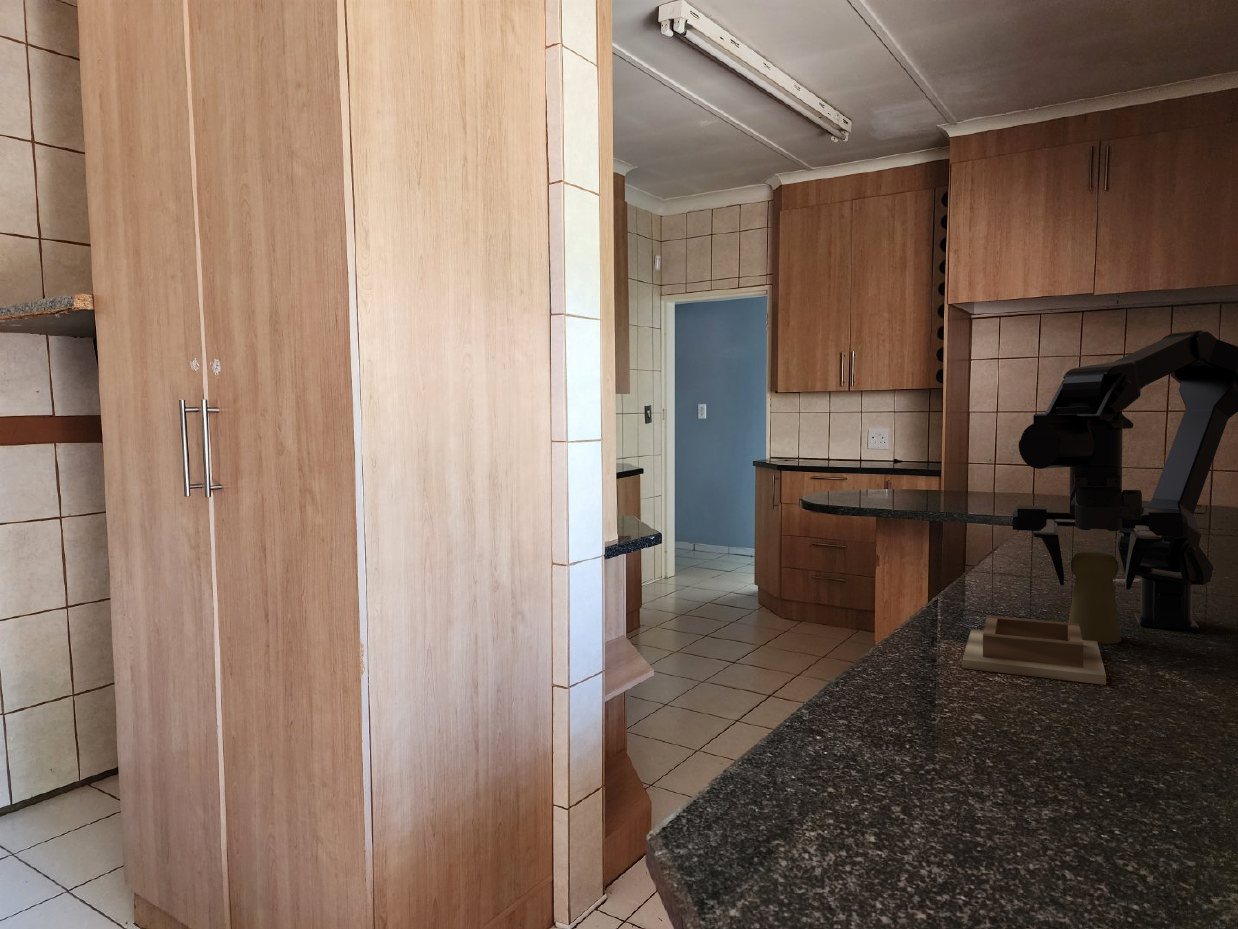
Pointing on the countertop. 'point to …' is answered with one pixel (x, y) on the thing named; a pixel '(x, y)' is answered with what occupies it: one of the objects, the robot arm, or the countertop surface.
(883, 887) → the countertop surface
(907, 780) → the countertop surface
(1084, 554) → the cork
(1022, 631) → the socket board
